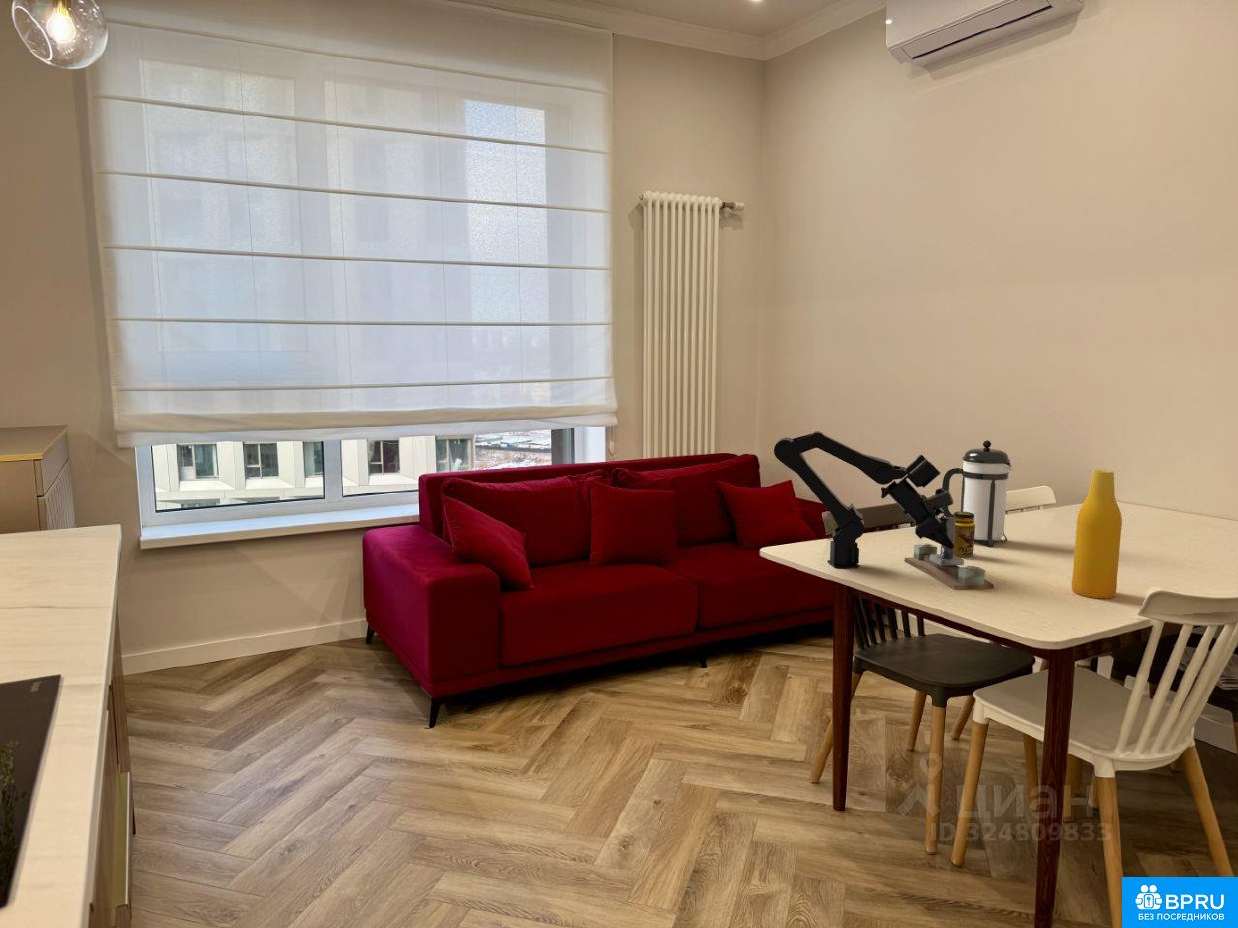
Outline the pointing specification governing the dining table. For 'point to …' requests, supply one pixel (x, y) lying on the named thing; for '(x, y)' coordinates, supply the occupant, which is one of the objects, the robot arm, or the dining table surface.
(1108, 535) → the beer bottle
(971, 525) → the condiment
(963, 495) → the coffee press
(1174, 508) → the dining table surface
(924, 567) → the board
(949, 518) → the carriage
